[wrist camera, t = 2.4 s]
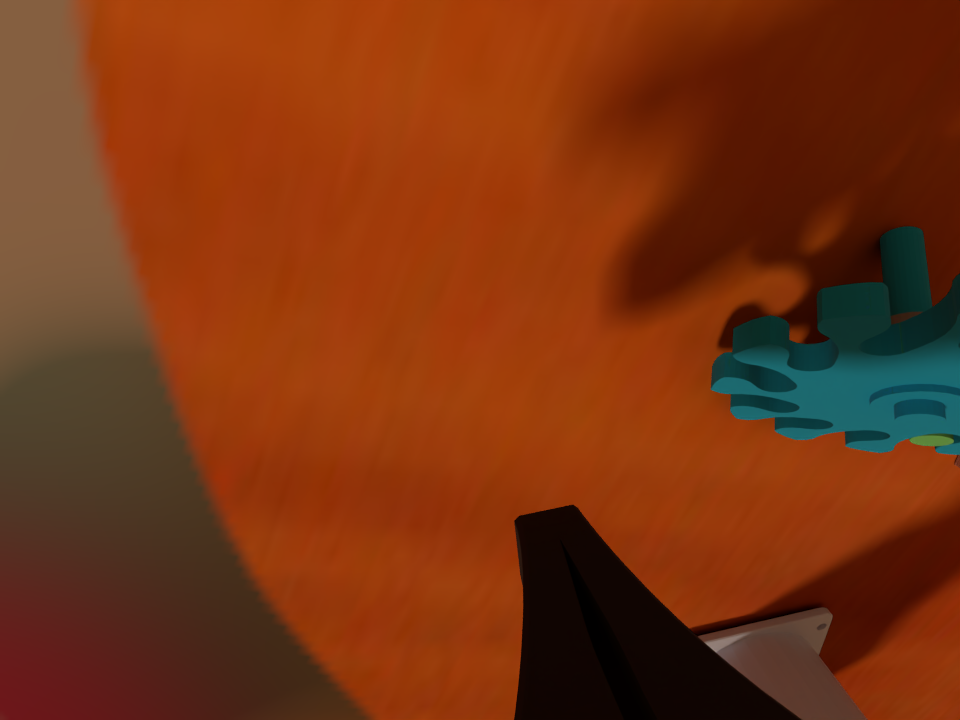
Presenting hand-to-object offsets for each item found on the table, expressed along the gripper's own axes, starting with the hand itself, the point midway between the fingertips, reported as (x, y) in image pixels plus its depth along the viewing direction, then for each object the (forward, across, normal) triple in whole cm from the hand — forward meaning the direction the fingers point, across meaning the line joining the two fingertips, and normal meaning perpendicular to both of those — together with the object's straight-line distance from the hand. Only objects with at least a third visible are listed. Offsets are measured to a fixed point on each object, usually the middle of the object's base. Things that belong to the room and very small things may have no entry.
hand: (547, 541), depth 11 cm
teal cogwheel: (+6, -11, 0) cm, 13 cm away
